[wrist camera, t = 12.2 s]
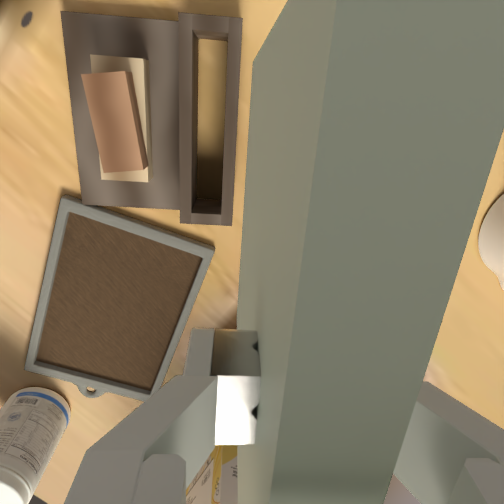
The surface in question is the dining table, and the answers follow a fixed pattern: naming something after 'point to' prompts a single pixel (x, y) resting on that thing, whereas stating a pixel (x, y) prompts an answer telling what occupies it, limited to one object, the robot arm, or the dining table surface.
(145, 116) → the offcut lower
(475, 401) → the dining table surface
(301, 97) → the grey-green rectangular panel
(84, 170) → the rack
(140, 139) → the offcut upper
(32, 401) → the supplement tub
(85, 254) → the grey brown flat frame
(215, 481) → the yellow product box
